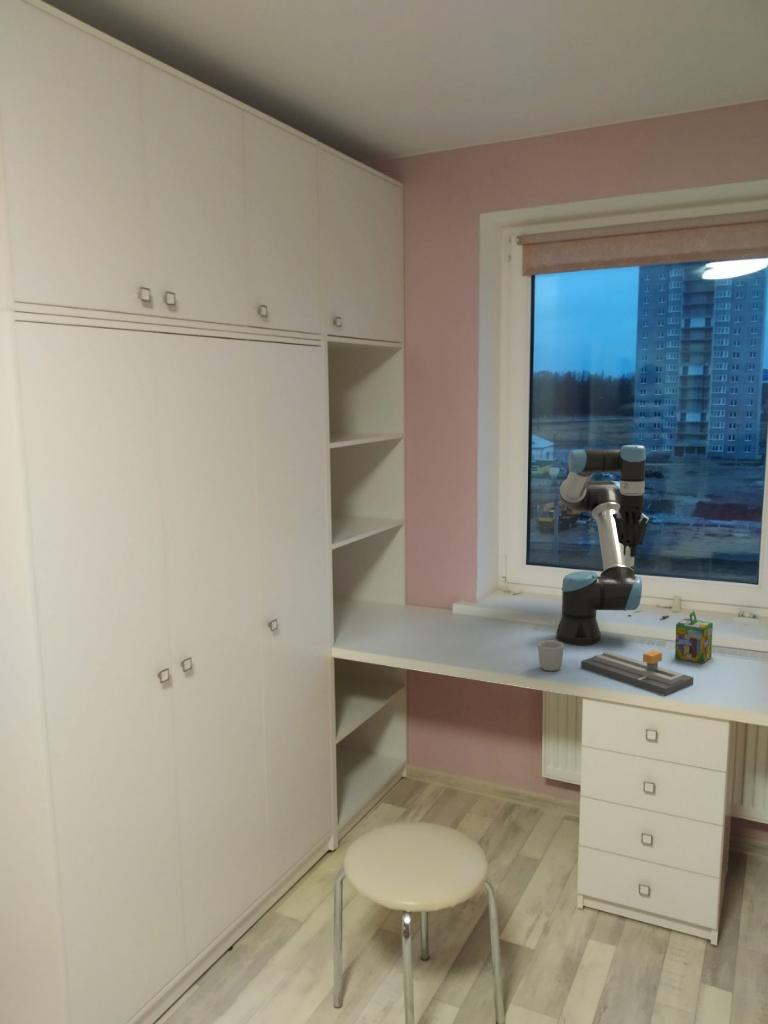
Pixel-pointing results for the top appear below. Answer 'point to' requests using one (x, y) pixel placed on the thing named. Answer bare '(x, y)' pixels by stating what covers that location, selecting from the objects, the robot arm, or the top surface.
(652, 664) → the fader knob
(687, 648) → the chalk box
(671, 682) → the fader console
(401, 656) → the top surface
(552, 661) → the cup
